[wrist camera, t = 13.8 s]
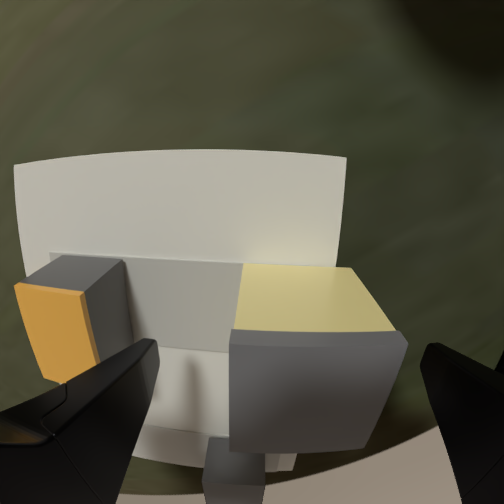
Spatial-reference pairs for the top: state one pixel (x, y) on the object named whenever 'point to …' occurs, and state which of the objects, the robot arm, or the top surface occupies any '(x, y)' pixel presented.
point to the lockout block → (308, 361)
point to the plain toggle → (232, 475)
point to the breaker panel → (184, 258)
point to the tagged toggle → (75, 314)
